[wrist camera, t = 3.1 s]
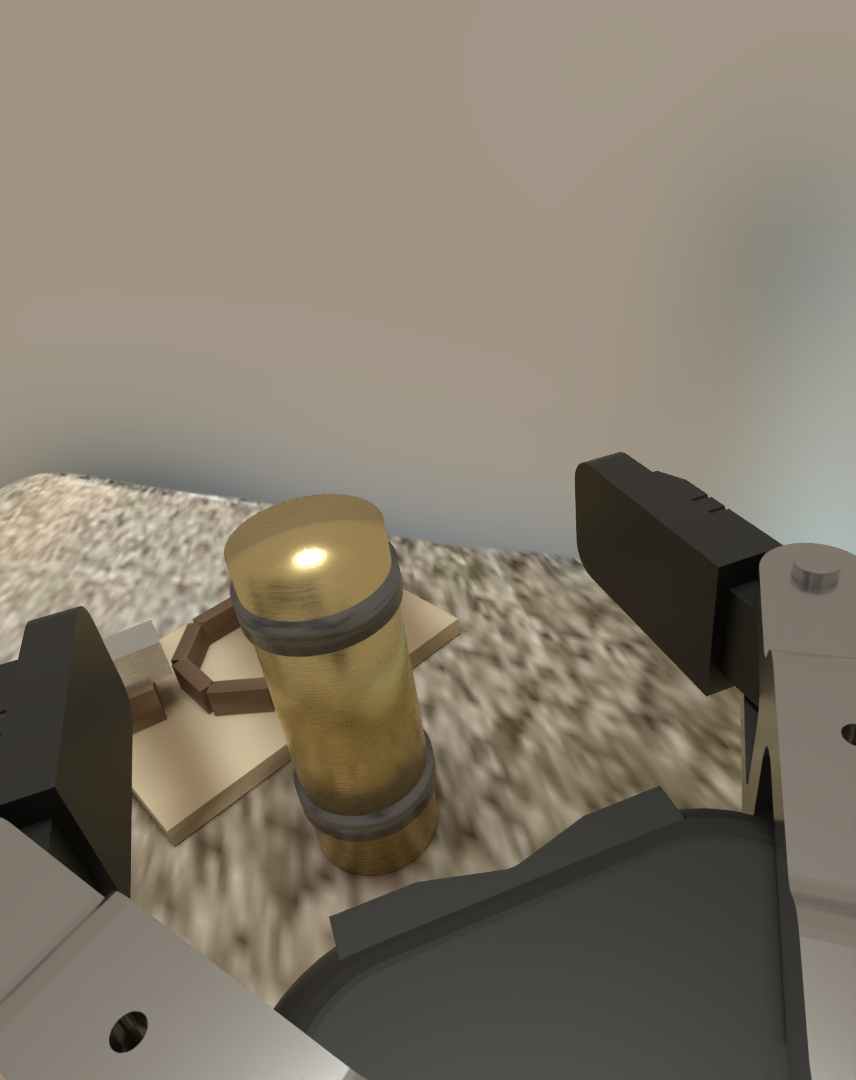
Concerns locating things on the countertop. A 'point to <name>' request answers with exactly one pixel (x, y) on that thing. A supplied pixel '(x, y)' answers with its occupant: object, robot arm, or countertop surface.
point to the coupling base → (225, 716)
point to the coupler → (339, 674)
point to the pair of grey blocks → (138, 656)
